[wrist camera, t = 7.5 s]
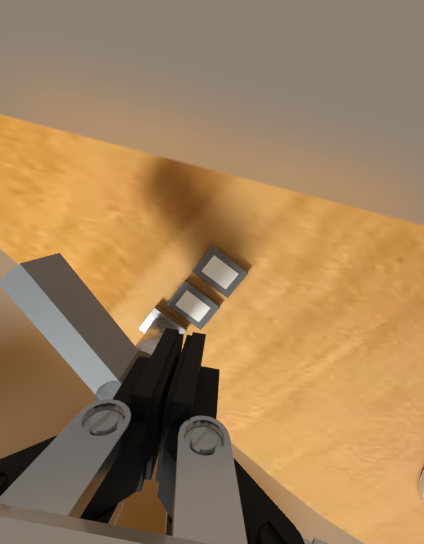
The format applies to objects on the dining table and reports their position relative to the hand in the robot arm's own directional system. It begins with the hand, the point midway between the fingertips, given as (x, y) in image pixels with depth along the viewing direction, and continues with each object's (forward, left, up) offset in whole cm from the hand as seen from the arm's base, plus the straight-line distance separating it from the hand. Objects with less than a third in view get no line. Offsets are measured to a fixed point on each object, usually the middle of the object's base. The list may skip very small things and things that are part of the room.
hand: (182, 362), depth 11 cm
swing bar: (+5, +7, -8) cm, 11 cm away
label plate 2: (-1, 0, -16) cm, 16 cm away
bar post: (0, +8, -16) cm, 18 cm away
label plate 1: (-1, +4, -16) cm, 16 cm away
